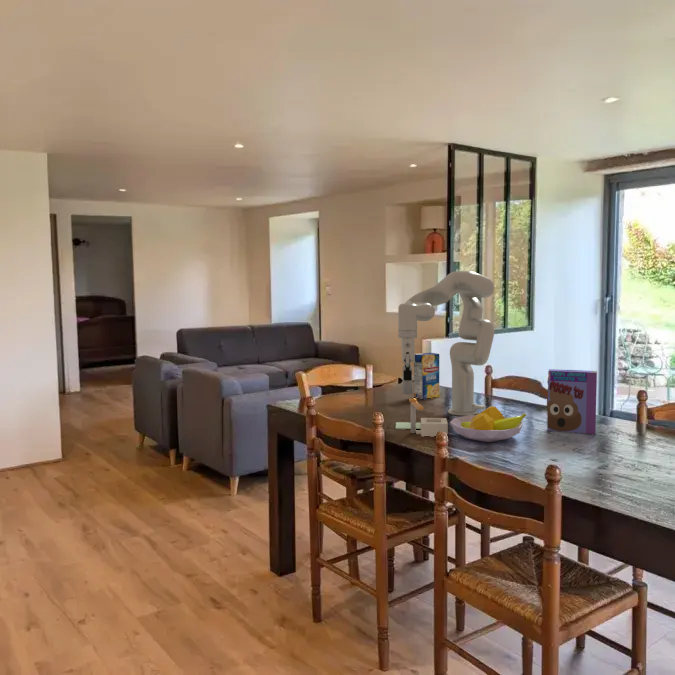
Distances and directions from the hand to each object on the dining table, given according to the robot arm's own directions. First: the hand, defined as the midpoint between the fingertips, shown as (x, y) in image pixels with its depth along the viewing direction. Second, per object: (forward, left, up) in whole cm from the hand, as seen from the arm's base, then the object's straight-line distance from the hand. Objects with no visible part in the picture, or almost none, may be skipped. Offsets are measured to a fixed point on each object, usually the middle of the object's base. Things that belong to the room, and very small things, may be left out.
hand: (407, 378), depth 263 cm
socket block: (-8, +11, -20) cm, 24 cm away
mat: (0, 0, -20) cm, 20 cm away
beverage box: (-9, -64, -20) cm, 68 cm away
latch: (-3, +17, -8) cm, 18 cm away
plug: (0, 0, -6) cm, 6 cm away
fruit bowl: (-30, +17, -20) cm, 40 cm away
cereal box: (-63, +5, -20) cm, 66 cm away
